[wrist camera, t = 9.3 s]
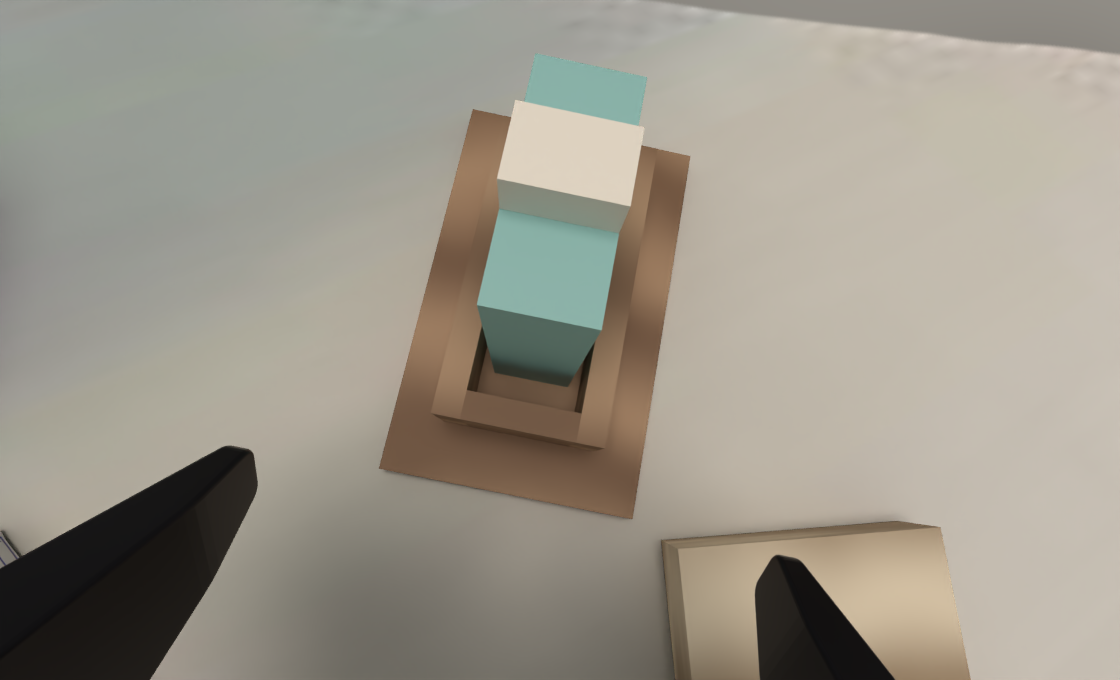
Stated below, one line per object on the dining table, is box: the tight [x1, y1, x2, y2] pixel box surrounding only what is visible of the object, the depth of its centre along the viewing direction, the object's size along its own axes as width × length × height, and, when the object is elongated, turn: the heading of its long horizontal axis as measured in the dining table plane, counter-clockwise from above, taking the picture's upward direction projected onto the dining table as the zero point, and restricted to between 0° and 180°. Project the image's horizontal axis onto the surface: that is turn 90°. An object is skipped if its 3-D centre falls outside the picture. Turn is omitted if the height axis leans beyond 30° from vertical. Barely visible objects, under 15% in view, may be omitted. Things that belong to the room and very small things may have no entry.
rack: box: [379, 109, 690, 519], centre depth 23 cm, size 16×10×4 cm, turn 169°
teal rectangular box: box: [477, 53, 647, 387], centre depth 18 cm, size 7×3×12 cm, turn 169°
